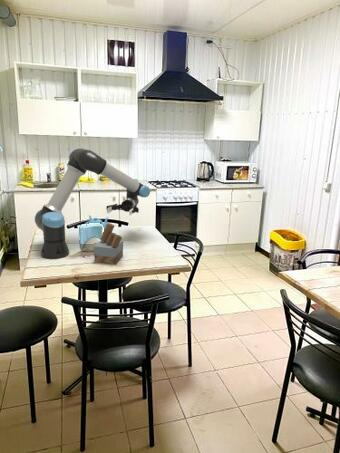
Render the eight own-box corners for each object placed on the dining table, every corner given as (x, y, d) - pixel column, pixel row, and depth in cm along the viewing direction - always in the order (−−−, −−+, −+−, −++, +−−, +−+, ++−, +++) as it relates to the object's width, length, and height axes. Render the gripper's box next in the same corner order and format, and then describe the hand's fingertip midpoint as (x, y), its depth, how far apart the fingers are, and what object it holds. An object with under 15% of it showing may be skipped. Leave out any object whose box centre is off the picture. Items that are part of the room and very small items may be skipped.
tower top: (93, 255, 185) (93, 246, 183) (103, 246, 198) (103, 238, 197) (114, 257, 183) (114, 248, 181) (123, 248, 196) (123, 240, 194)
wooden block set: (119, 251, 184) (127, 234, 182) (104, 246, 180) (112, 229, 178) (111, 240, 199) (118, 224, 198) (97, 235, 195) (104, 219, 194)
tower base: (94, 263, 186) (94, 255, 185) (102, 254, 199) (102, 246, 198) (116, 265, 185) (115, 257, 183) (122, 256, 198) (122, 248, 197)
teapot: (81, 234, 235) (81, 219, 232) (90, 228, 249) (89, 214, 246) (102, 236, 232) (101, 221, 230) (109, 229, 247) (109, 216, 244)
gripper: (146, 212, 222) (139, 219, 202) (109, 209, 225) (98, 216, 205) (147, 200, 220) (139, 207, 200) (109, 197, 223) (98, 204, 203)
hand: (118, 212), depth 202 cm, fingers open, 13 cm apart
